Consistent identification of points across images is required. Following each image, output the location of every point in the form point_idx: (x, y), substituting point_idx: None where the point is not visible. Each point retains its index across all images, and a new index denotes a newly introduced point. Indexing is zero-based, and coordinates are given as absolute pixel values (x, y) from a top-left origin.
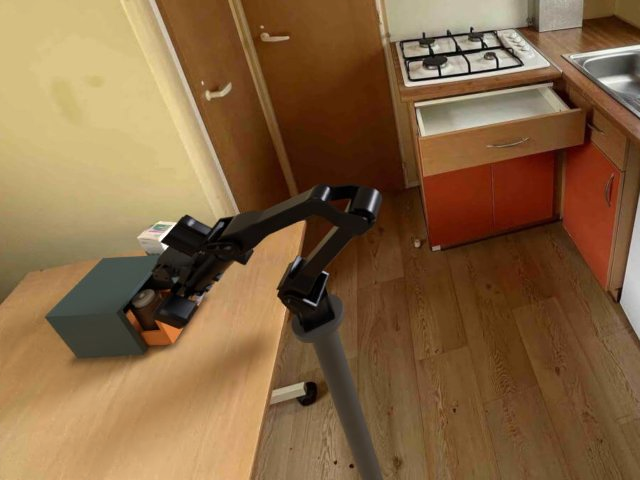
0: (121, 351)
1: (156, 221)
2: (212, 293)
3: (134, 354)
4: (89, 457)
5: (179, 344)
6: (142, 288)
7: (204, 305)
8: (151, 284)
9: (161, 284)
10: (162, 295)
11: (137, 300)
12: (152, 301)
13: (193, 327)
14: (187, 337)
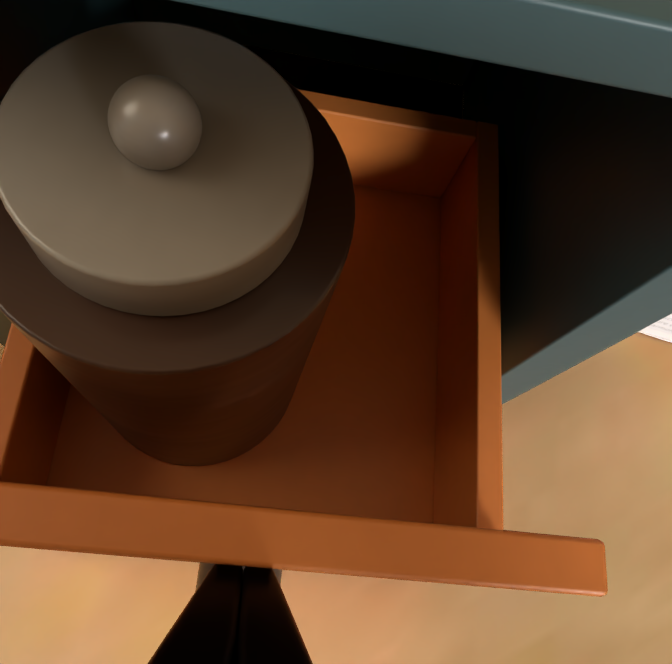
0: None
1: None
2: (498, 625)
3: None
4: None
5: (15, 588)
6: (517, 102)
7: (383, 614)
8: (540, 150)
9: (540, 230)
10: (458, 269)
11: (97, 96)
12: (102, 314)
13: (167, 629)
14: (71, 626)
